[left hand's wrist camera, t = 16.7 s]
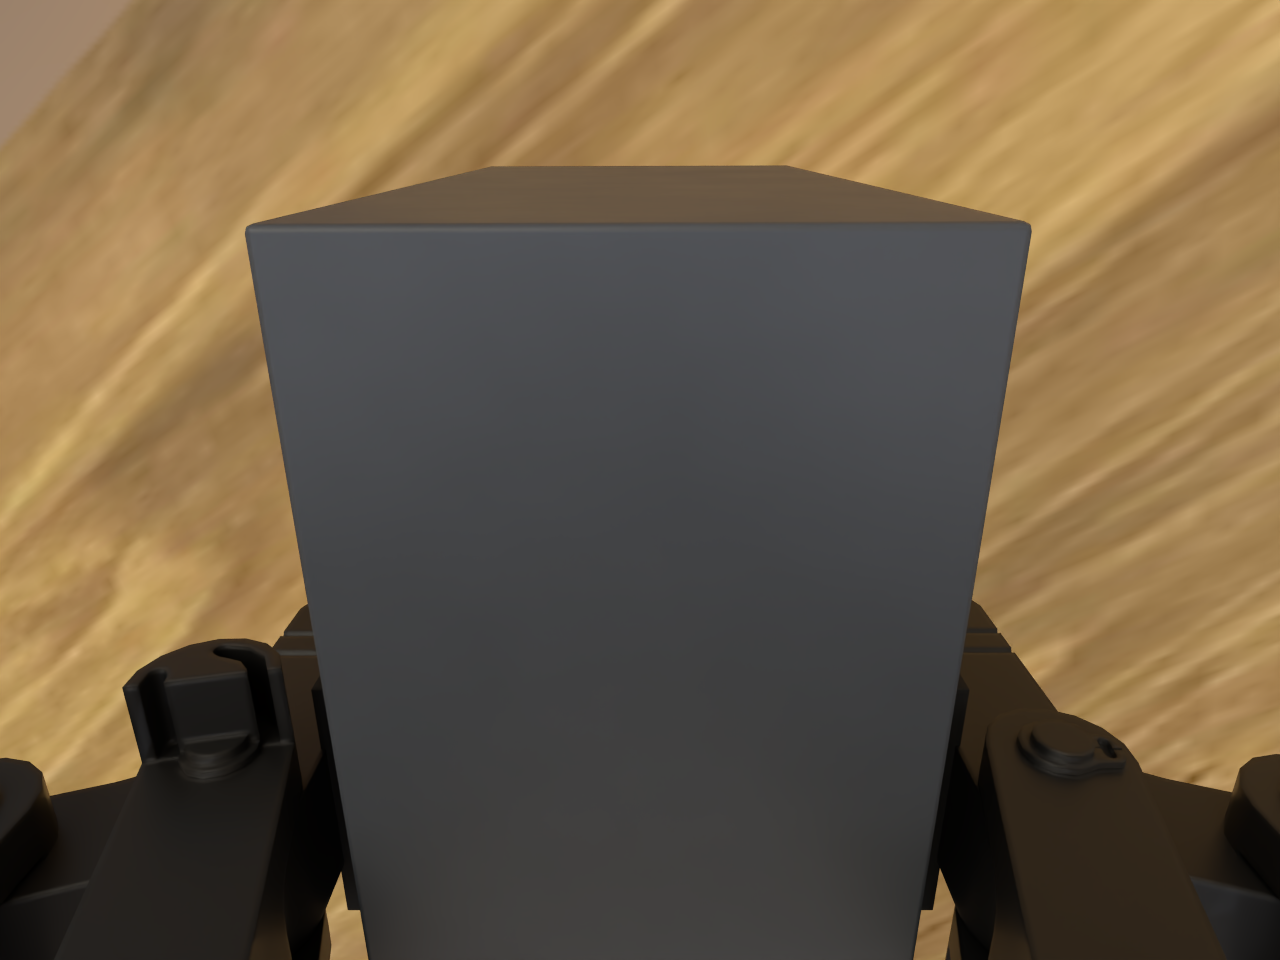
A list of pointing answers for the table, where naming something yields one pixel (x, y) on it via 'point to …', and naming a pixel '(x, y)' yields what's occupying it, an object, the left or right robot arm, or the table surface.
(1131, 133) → the table surface
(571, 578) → the bar
